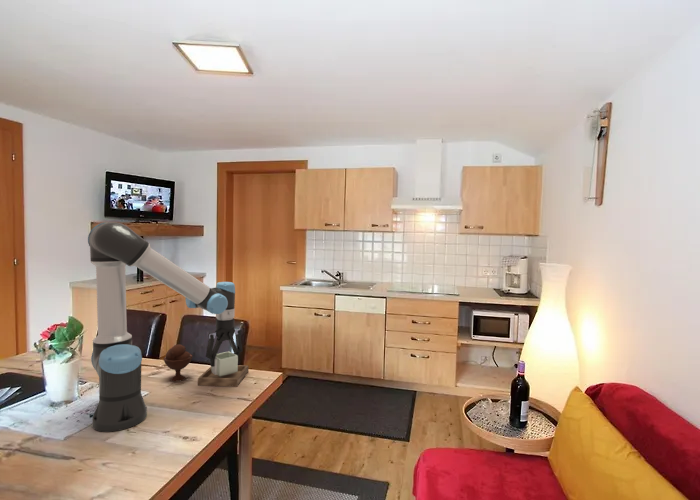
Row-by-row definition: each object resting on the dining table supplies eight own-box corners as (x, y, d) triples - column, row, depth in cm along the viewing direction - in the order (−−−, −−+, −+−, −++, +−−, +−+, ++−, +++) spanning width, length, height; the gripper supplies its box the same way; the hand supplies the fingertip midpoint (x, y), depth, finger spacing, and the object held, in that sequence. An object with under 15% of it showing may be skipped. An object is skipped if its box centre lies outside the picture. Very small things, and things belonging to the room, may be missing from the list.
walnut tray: (197, 385, 149) (197, 378, 149) (212, 371, 165) (213, 364, 165) (236, 386, 149) (237, 379, 148) (248, 372, 164) (248, 365, 164)
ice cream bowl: (197, 377, 157) (197, 343, 156) (172, 386, 147) (173, 349, 147) (182, 372, 162) (183, 338, 162) (158, 380, 153) (158, 344, 152)
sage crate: (219, 376, 151) (219, 359, 151) (211, 371, 156) (211, 355, 156) (237, 372, 156) (237, 355, 156) (229, 366, 162) (229, 351, 162)
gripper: (204, 323, 146) (203, 379, 147) (251, 316, 160) (250, 368, 161) (197, 320, 151) (196, 374, 152) (243, 313, 166) (242, 363, 166)
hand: (224, 371), depth 156 cm, fingers closed on sage crate, 8 cm apart
